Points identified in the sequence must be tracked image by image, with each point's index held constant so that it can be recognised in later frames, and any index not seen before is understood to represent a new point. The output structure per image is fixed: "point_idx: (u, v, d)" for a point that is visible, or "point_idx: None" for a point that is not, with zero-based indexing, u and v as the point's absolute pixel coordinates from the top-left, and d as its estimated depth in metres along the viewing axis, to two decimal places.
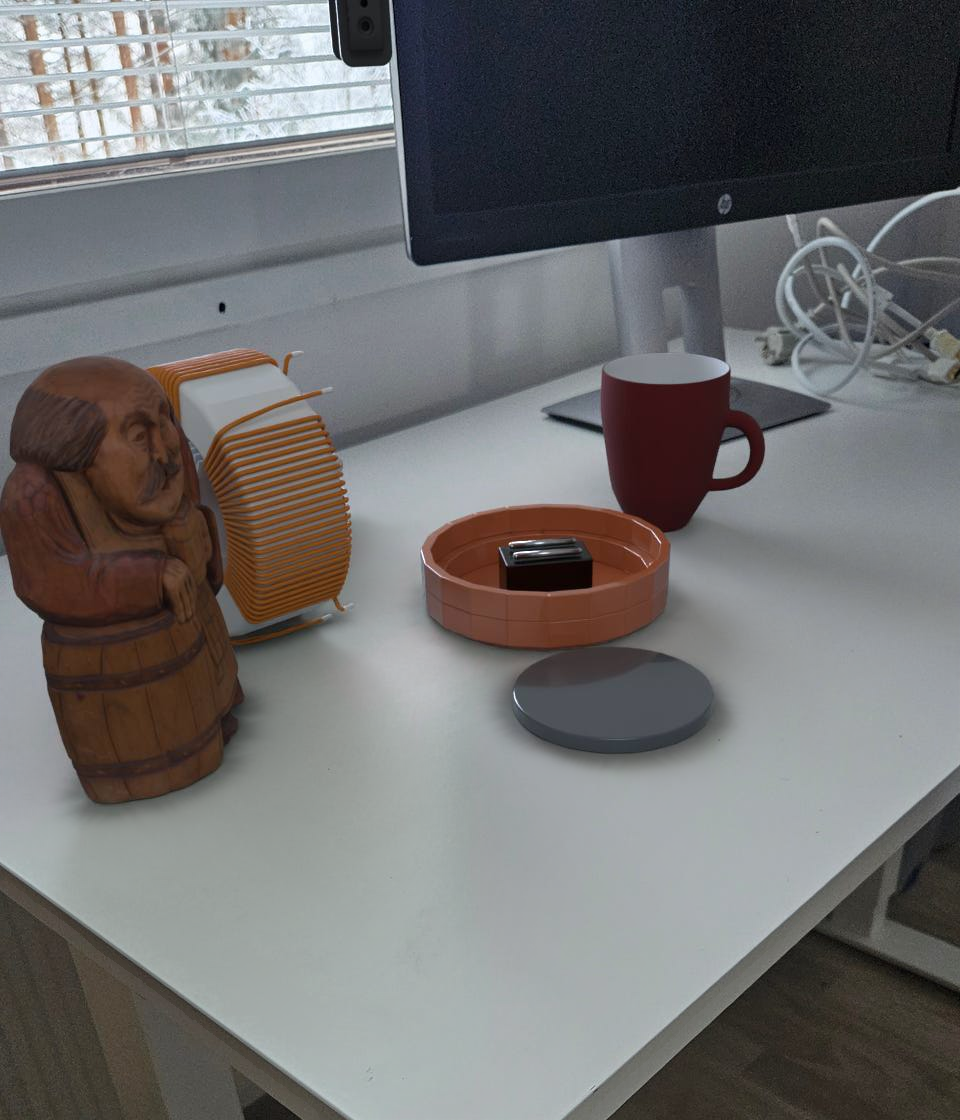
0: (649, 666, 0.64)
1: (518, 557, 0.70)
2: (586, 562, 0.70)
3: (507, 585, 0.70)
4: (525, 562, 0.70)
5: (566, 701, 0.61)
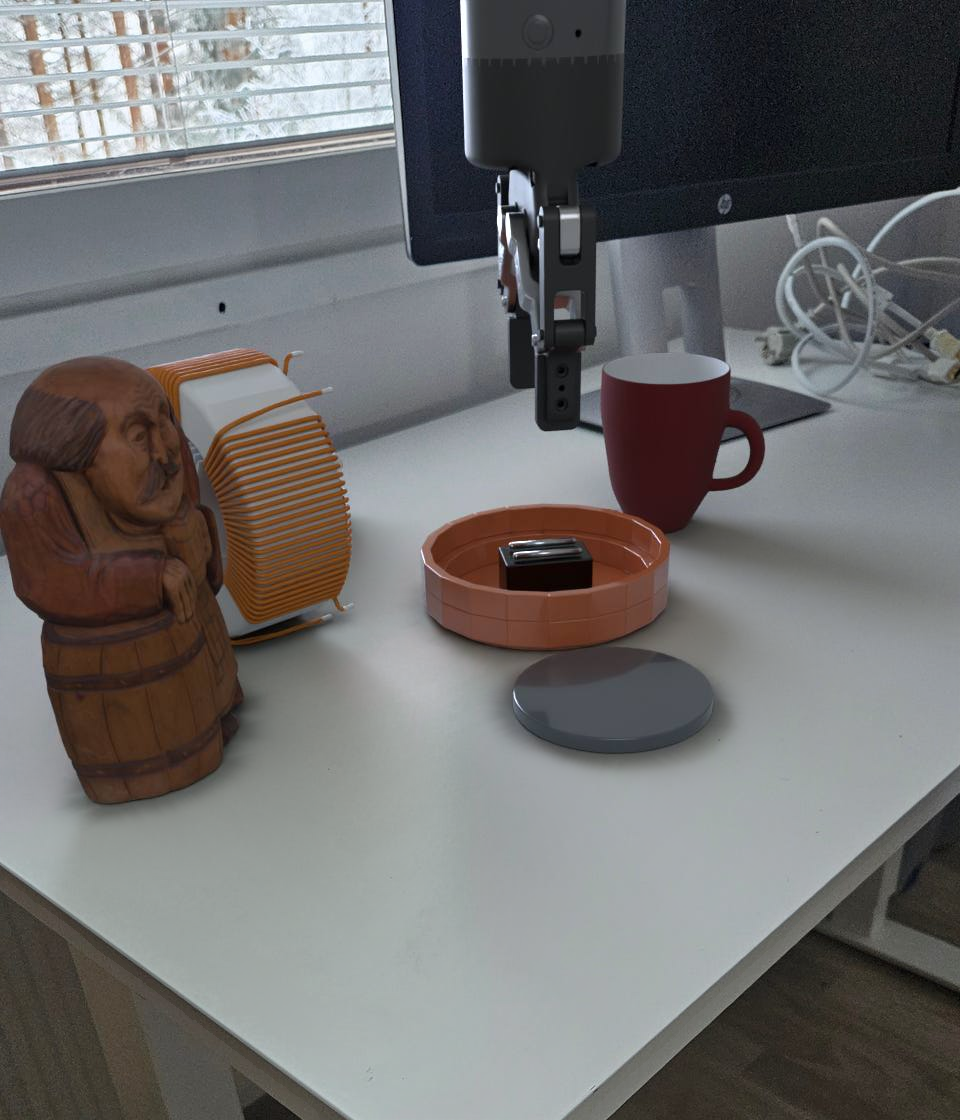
0: (649, 666, 0.64)
1: (518, 557, 0.70)
2: (586, 562, 0.70)
3: (507, 585, 0.70)
4: (525, 562, 0.70)
5: (566, 701, 0.61)
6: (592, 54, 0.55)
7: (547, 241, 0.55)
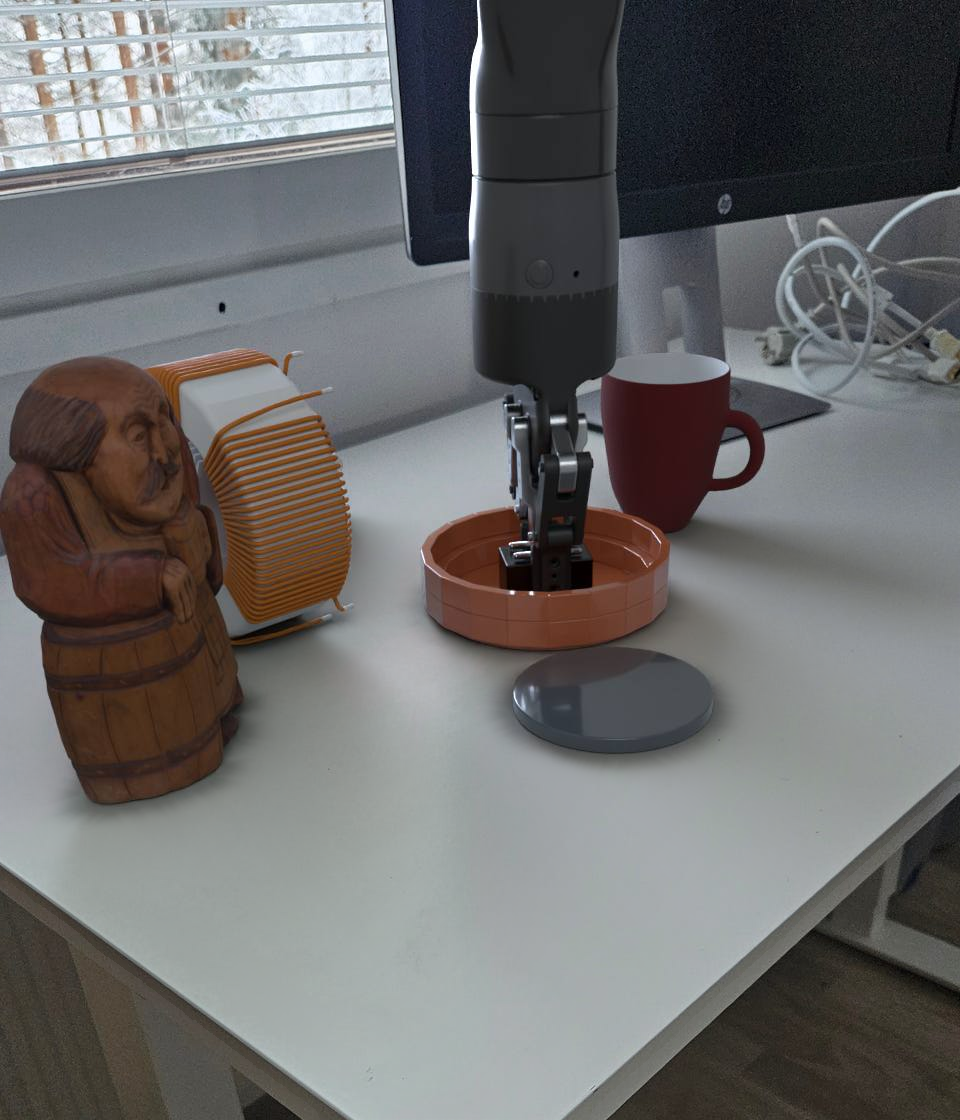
0: (649, 666, 0.64)
1: (518, 557, 0.70)
2: (586, 562, 0.70)
3: (507, 585, 0.70)
4: (526, 562, 0.70)
5: (566, 701, 0.61)
6: (589, 290, 0.60)
7: (546, 486, 0.62)
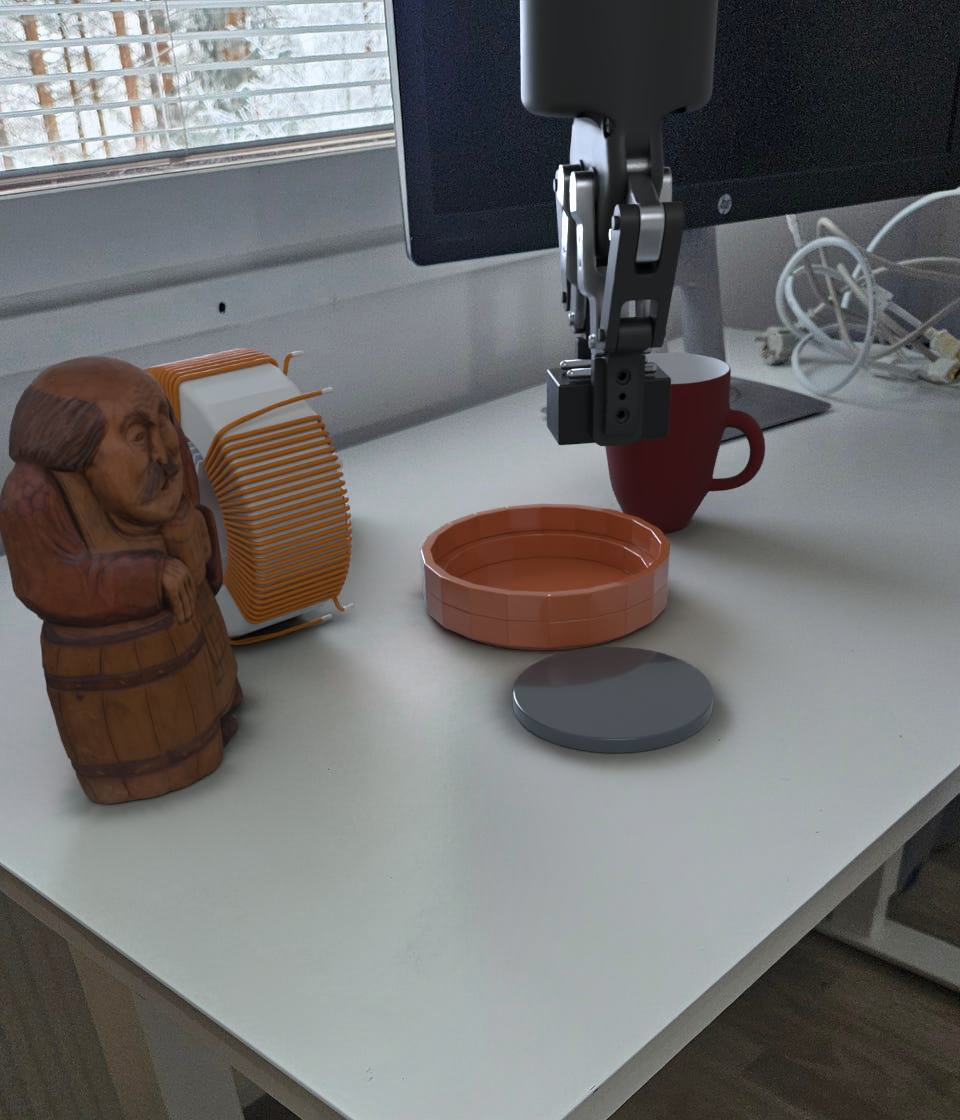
0: (649, 666, 0.64)
1: (574, 376, 0.54)
2: (662, 383, 0.54)
3: (559, 413, 0.54)
4: (584, 382, 0.54)
5: (566, 701, 0.61)
6: None
7: (621, 251, 0.46)
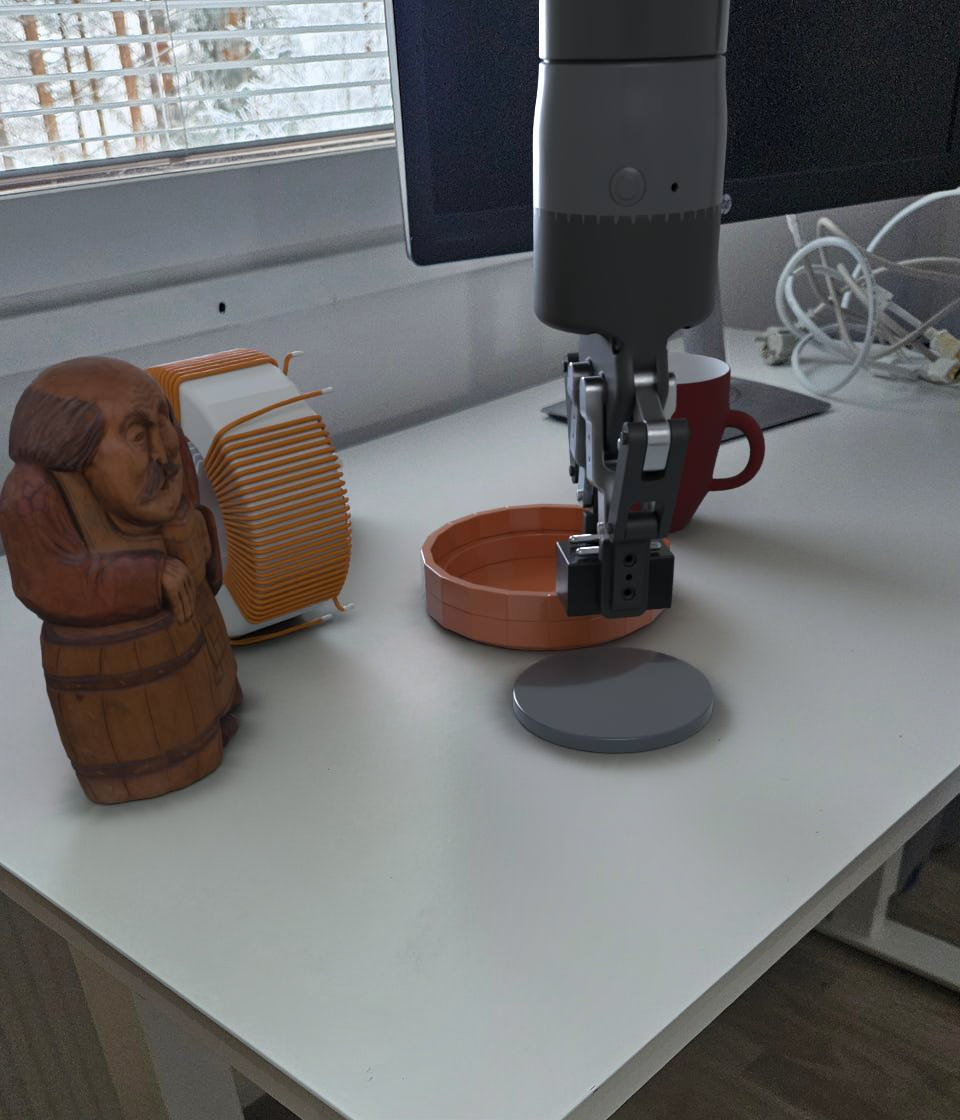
0: (649, 666, 0.64)
1: (582, 554, 0.56)
2: (666, 560, 0.57)
3: (568, 588, 0.57)
4: (592, 560, 0.56)
5: (566, 701, 0.61)
6: (689, 209, 0.47)
7: (629, 463, 0.49)
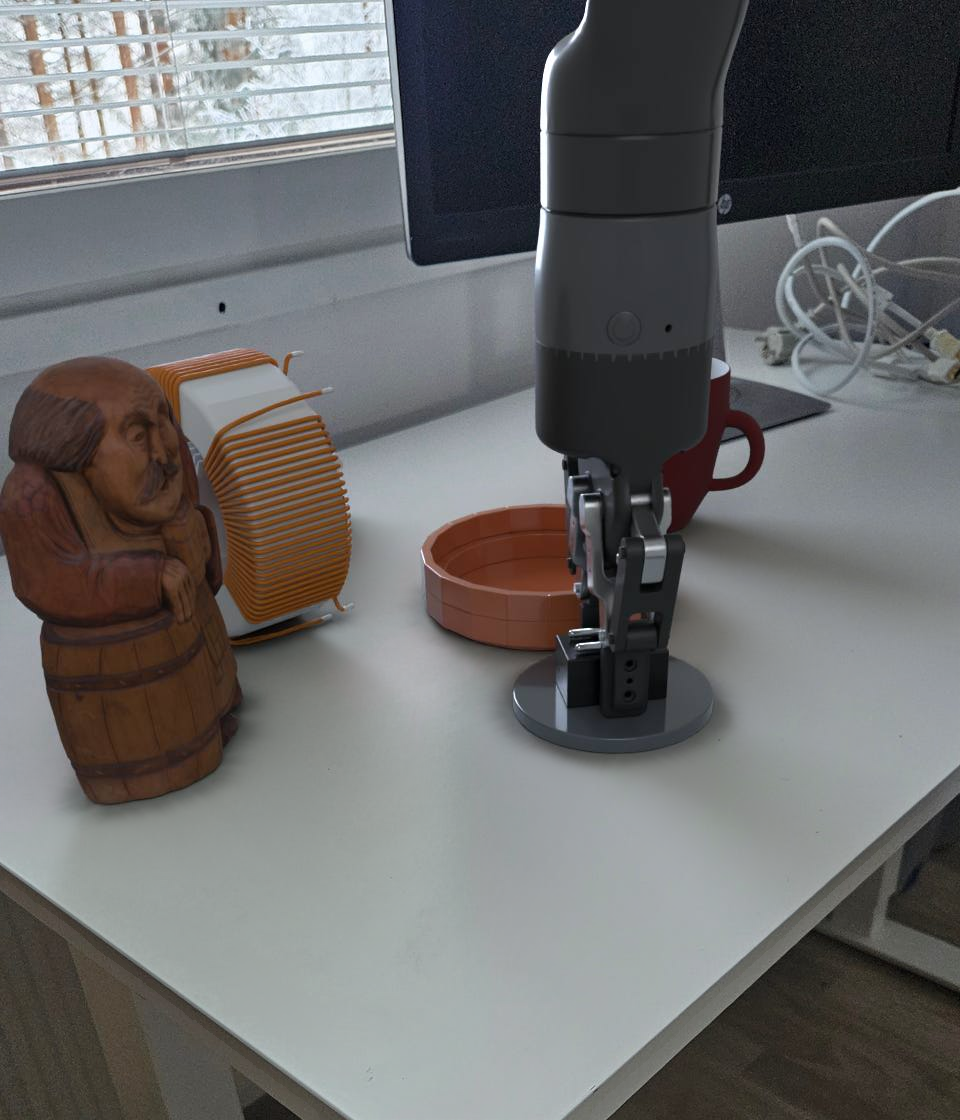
0: None
1: (581, 649, 0.59)
2: (661, 655, 0.59)
3: (568, 682, 0.59)
4: (590, 655, 0.59)
5: None
6: (682, 347, 0.49)
7: (628, 575, 0.51)
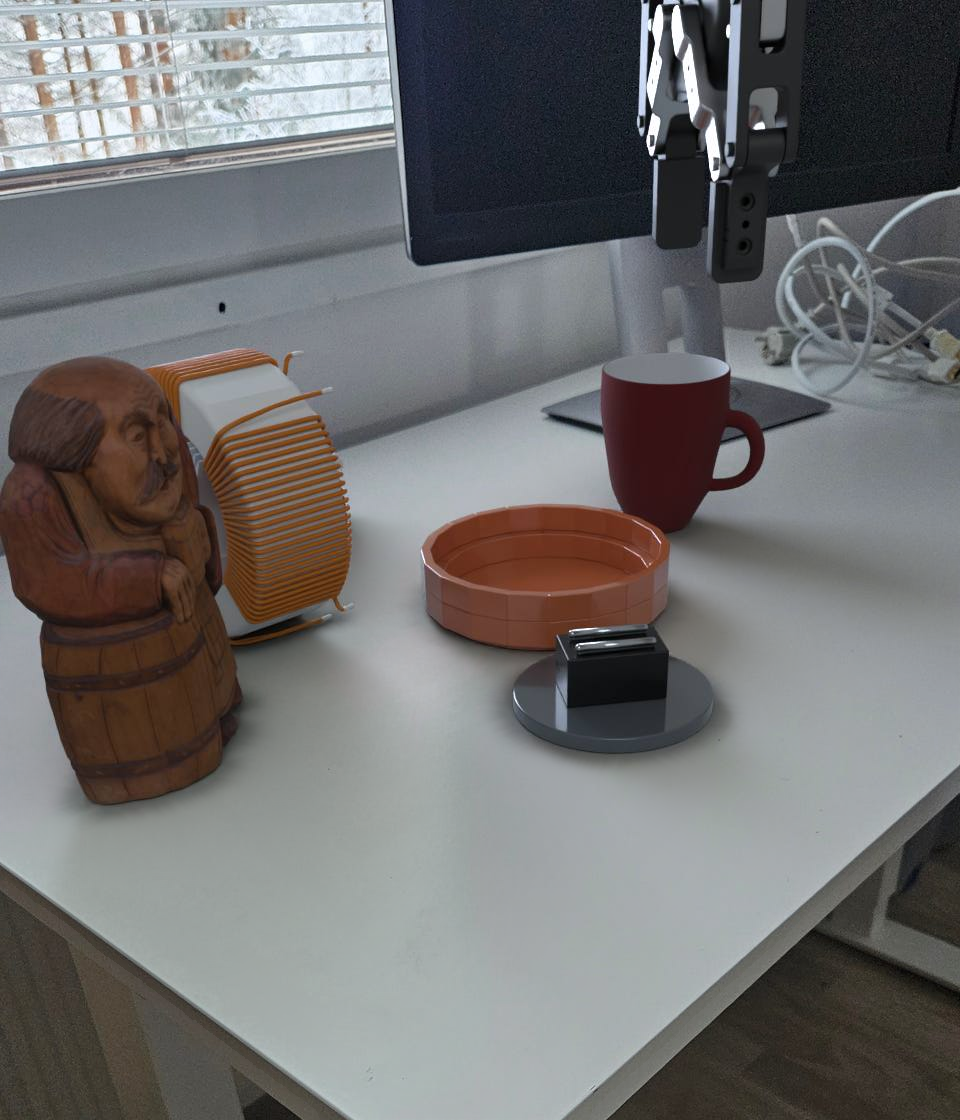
0: None
1: (581, 649, 0.59)
2: (661, 655, 0.59)
3: (568, 682, 0.59)
4: (590, 655, 0.59)
5: None
6: None
7: (745, 21, 0.44)
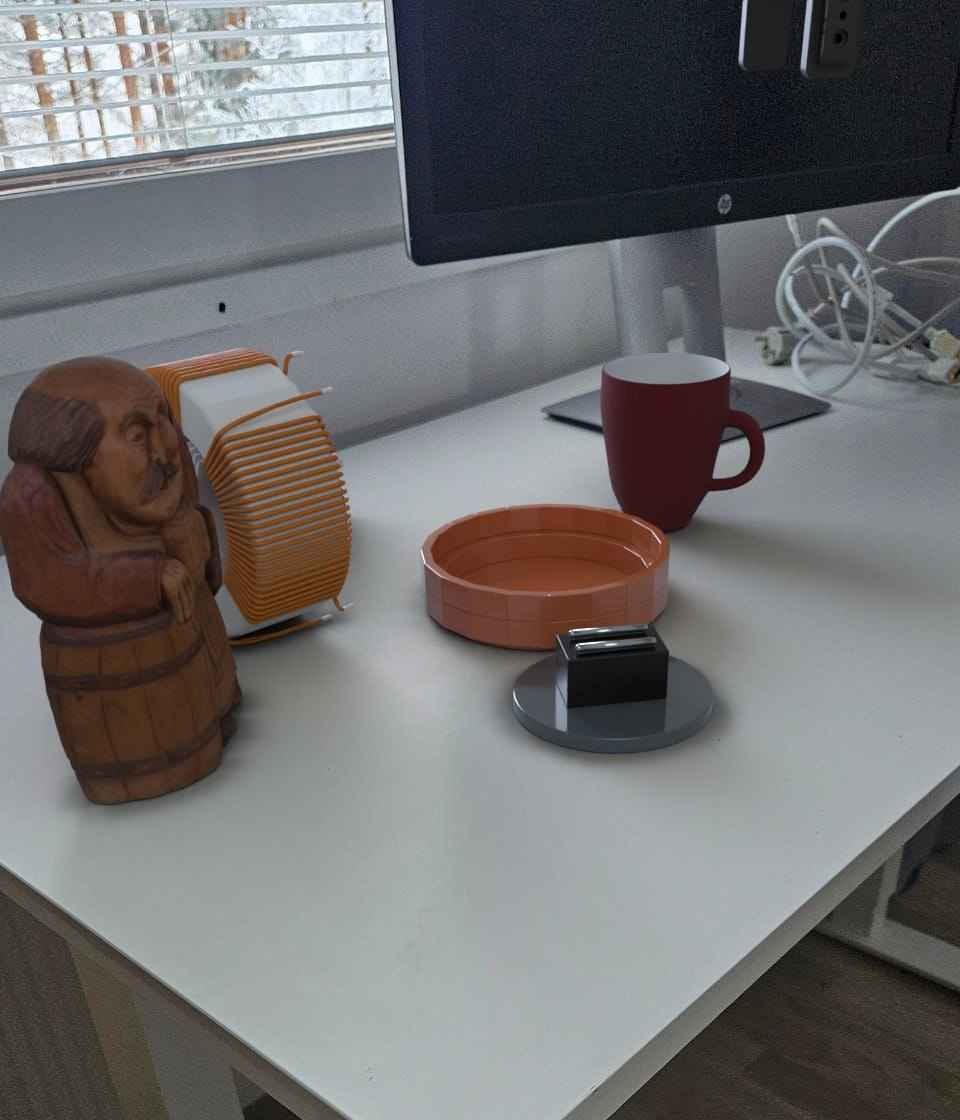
0: None
1: (581, 649, 0.59)
2: (661, 655, 0.59)
3: (568, 682, 0.59)
4: (590, 655, 0.59)
5: None
6: None
7: None
